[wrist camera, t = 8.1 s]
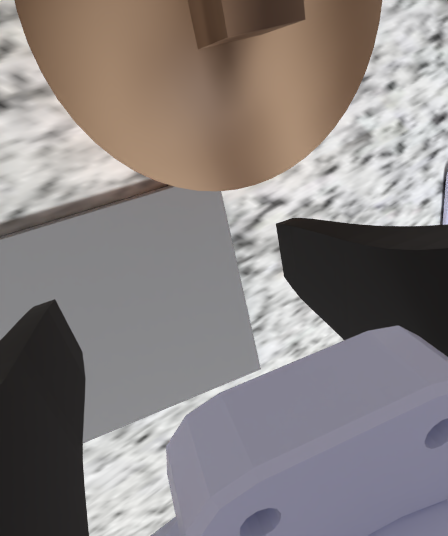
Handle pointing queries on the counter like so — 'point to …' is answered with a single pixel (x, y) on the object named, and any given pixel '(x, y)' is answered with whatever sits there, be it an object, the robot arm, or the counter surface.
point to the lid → (204, 79)
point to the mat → (138, 299)
